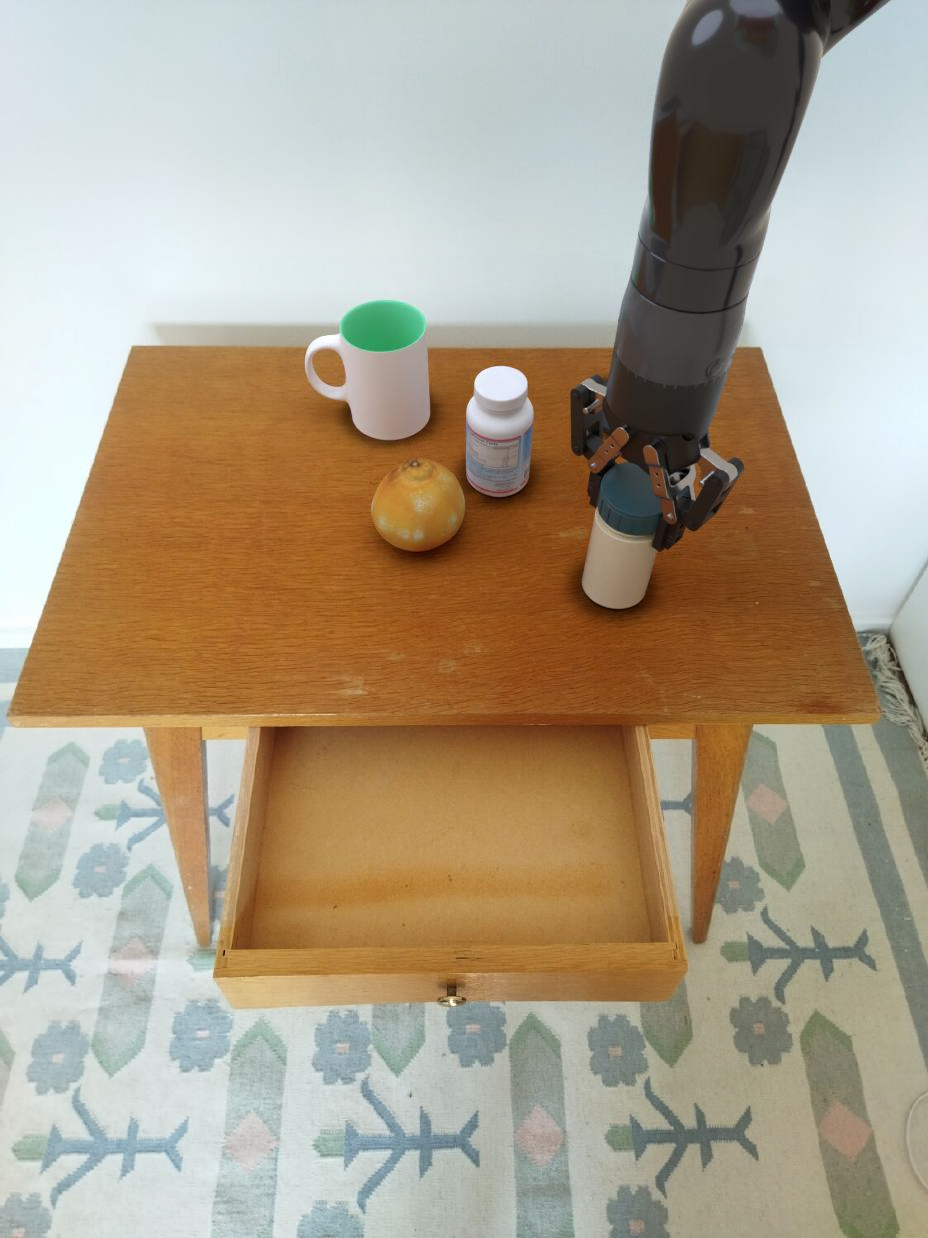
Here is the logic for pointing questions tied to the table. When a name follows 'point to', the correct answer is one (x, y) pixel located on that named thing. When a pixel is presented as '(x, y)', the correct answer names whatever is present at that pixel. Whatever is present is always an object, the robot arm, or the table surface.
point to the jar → (617, 566)
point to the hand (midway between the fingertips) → (631, 522)
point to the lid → (629, 500)
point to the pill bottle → (499, 432)
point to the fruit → (418, 505)
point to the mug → (380, 368)
